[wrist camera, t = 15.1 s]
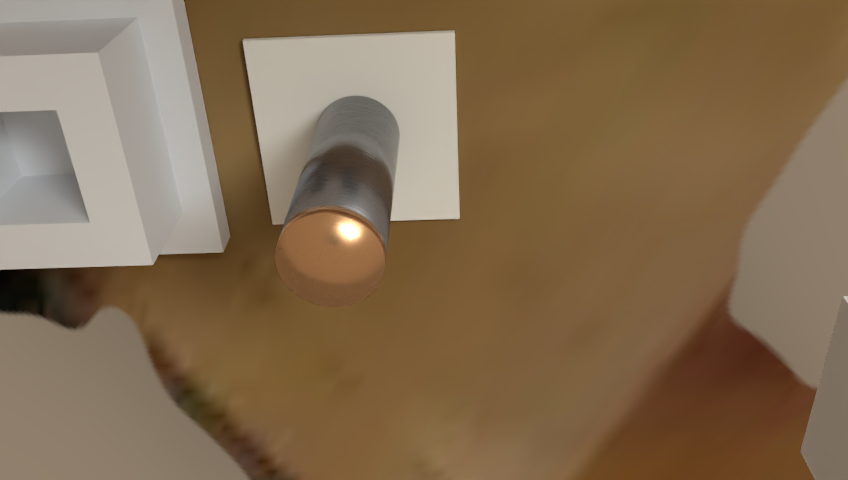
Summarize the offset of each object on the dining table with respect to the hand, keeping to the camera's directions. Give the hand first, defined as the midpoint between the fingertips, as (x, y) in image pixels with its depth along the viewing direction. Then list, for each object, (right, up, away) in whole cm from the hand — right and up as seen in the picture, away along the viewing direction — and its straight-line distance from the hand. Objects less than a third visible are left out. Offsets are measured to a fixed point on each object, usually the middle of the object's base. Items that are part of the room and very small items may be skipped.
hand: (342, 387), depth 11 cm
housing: (-20, +10, +37) cm, 43 cm away
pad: (-3, +8, +38) cm, 39 cm away
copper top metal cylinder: (-3, +8, +37) cm, 38 cm away
